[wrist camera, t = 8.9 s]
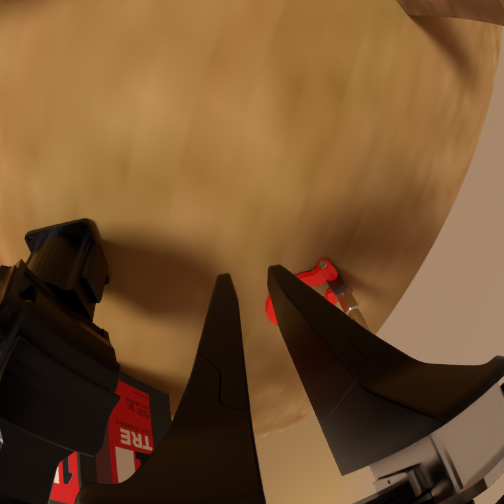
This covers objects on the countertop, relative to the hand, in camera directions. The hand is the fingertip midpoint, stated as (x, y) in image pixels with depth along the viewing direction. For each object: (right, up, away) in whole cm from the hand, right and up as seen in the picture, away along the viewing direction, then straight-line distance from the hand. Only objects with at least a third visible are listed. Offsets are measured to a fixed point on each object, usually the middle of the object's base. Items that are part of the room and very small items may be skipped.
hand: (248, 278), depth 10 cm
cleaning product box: (-20, -18, +24) cm, 36 cm away
